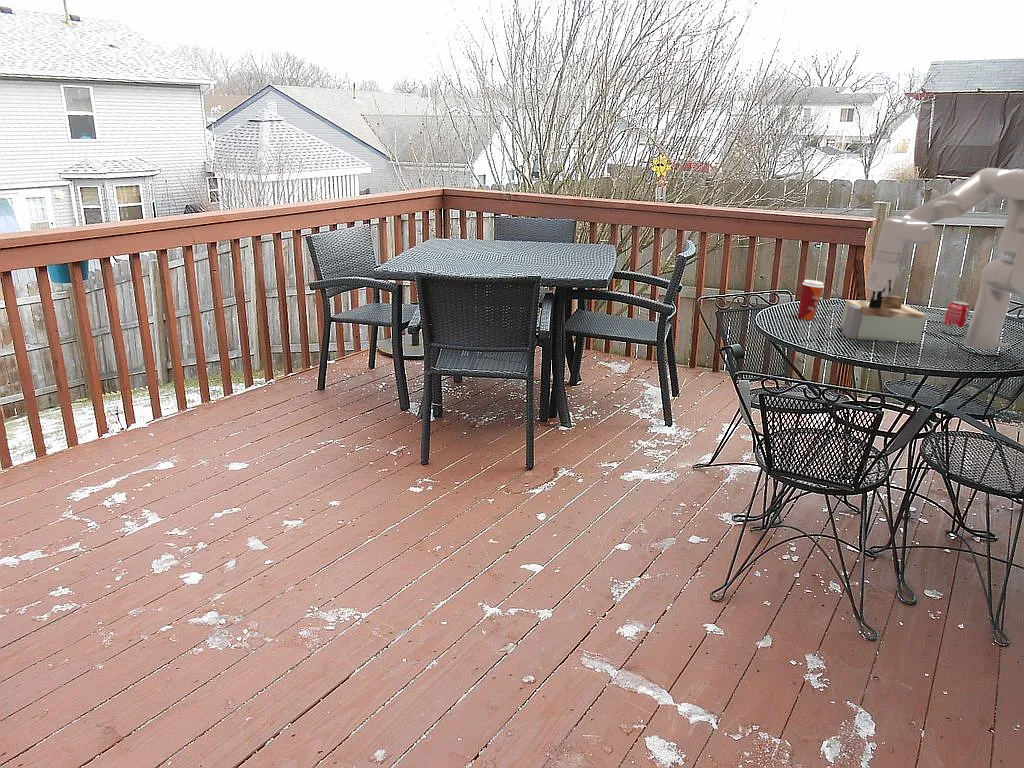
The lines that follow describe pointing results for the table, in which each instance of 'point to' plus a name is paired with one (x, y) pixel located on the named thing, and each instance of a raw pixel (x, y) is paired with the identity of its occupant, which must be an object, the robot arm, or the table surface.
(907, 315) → the lid
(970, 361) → the table surface
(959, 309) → the soda can
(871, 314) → the wooden block
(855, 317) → the toolbox
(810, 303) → the paper cup
